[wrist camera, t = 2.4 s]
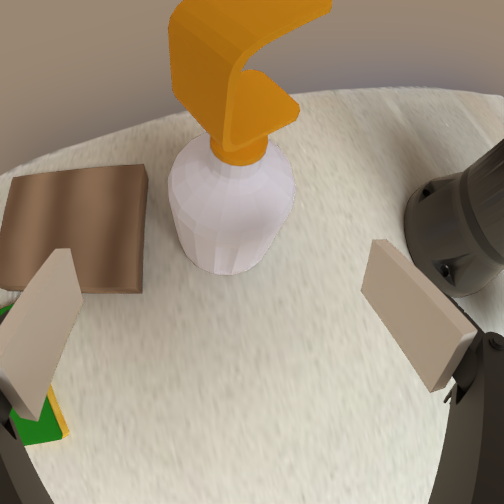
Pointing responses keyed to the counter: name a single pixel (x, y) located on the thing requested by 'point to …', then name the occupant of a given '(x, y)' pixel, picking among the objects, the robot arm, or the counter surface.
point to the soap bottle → (231, 129)
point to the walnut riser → (77, 227)
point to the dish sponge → (41, 419)
